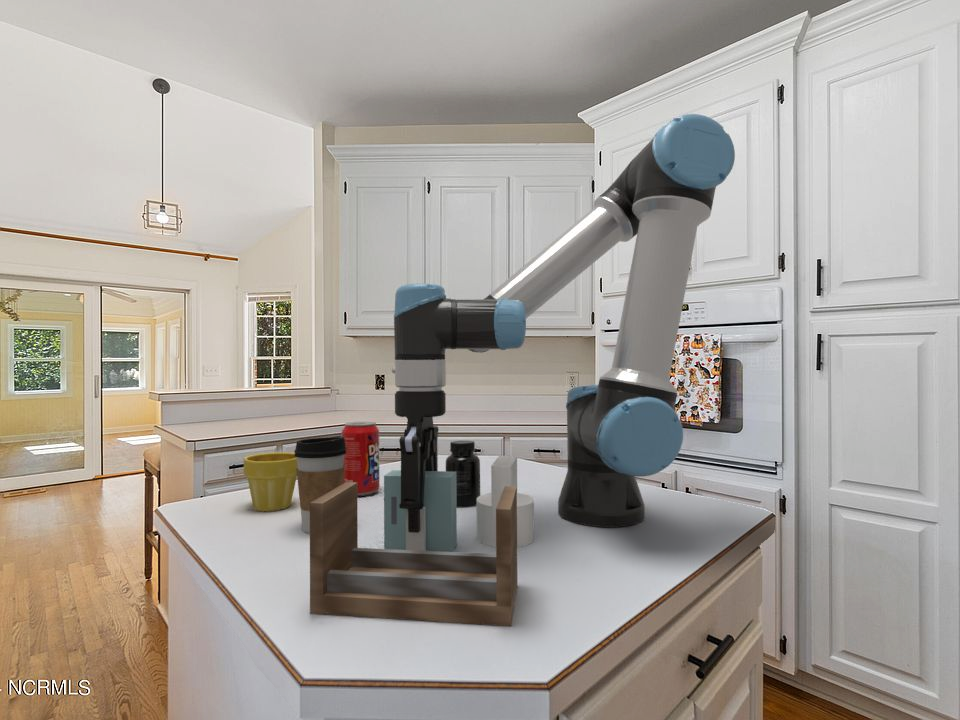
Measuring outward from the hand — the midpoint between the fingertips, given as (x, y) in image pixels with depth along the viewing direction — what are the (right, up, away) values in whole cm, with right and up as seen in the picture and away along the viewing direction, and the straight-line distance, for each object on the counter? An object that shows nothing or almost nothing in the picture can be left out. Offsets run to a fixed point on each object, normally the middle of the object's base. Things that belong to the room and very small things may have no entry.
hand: (421, 545), depth 75 cm
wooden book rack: (+2, 0, -16) cm, 16 cm away
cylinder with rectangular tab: (+13, 0, +4) cm, 13 cm away
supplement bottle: (+5, -1, +24) cm, 25 cm away
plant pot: (-31, -1, +22) cm, 38 cm away
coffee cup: (-18, -1, +10) cm, 20 cm away
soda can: (-17, -1, +33) cm, 37 cm away
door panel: (0, 0, 0) cm, 0 cm away
